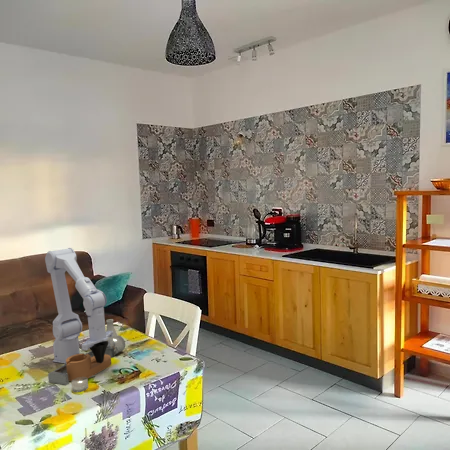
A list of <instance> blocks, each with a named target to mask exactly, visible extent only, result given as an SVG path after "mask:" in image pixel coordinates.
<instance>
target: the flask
mask: <svg viewBox="0 0 450 450" xmlns="http://www.w3.org/2000/svg"><path fill="white" fill-rule="evenodd" d="M105 323H106V329H105V330H106V332H107V331H113V337H114V336H118V334H117V332H116V330H115V327H114V319H113V318H110V319H106V321H105ZM113 337H109V338H108V340H109V339H111V338H113ZM106 341H107V340H106Z"/></svg>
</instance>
